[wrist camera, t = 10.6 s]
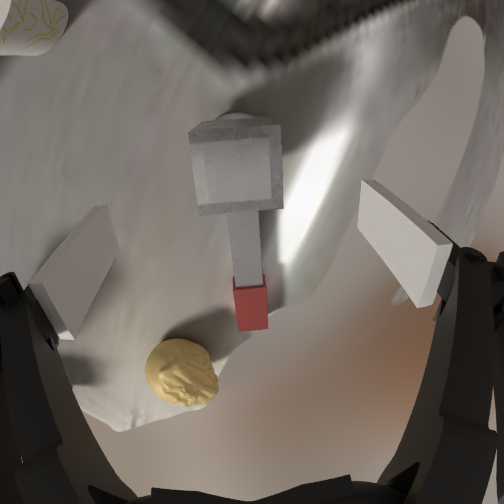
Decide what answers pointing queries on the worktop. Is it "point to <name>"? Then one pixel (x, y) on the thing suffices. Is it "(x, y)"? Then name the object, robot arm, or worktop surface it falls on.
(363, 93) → the worktop surface
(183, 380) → the sculpture
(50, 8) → the cup
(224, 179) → the frosted translucent cube
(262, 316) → the ratchet
